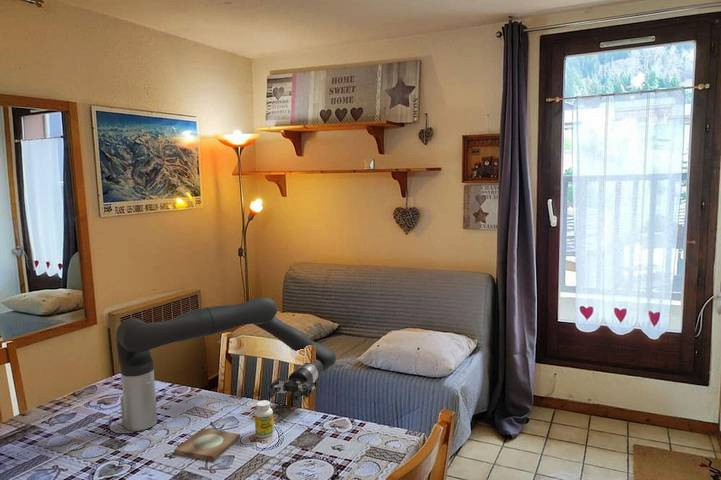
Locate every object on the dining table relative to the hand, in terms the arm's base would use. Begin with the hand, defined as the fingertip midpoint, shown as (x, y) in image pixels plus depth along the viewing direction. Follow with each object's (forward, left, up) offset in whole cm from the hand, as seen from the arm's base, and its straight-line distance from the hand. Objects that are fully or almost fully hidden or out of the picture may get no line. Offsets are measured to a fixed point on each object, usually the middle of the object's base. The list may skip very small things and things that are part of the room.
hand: (281, 396), depth 167 cm
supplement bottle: (0, -11, -7) cm, 13 cm away
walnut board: (-12, -22, -7) cm, 26 cm away
